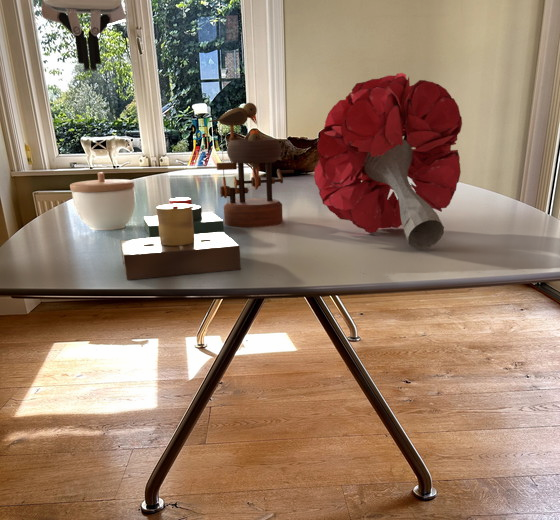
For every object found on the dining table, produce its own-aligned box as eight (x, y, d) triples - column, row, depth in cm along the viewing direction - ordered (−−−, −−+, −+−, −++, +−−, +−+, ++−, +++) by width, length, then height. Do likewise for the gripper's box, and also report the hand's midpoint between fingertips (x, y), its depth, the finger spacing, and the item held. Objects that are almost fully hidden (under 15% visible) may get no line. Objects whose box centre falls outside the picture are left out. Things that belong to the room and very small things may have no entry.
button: (171, 212, 97) (170, 201, 96) (169, 209, 100) (168, 198, 100) (193, 210, 98) (192, 199, 97) (190, 207, 101) (189, 197, 100)
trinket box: (94, 235, 99) (85, 176, 96) (66, 228, 107) (57, 173, 103) (150, 226, 106) (144, 171, 102) (120, 220, 113) (113, 168, 110)
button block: (150, 240, 95) (147, 214, 93) (144, 229, 103) (142, 206, 102) (224, 234, 98) (222, 209, 96) (212, 224, 106) (211, 201, 105)
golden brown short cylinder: (158, 240, 78) (154, 202, 76) (192, 238, 79) (189, 200, 77) (161, 247, 74) (157, 207, 72) (197, 244, 75) (193, 204, 73)
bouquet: (482, 283, 91) (419, 167, 109) (534, 143, 72) (447, 30, 90) (344, 302, 89) (303, 181, 106) (361, 163, 70) (307, 44, 87)
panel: (127, 280, 71) (123, 253, 70) (122, 262, 80) (119, 239, 79) (240, 269, 75) (239, 244, 74) (224, 253, 84) (223, 230, 82)
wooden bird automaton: (227, 230, 100) (215, 100, 94) (209, 226, 110) (198, 108, 103) (309, 222, 105) (304, 98, 99) (285, 219, 115) (279, 106, 108)
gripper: (130, -79, 80) (143, 73, 87) (10, -89, 76) (34, 71, 84) (134, -97, 74) (147, 68, 81) (3, -109, 70) (30, 66, 77)
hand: (90, 69), depth 82 cm, fingers closed
